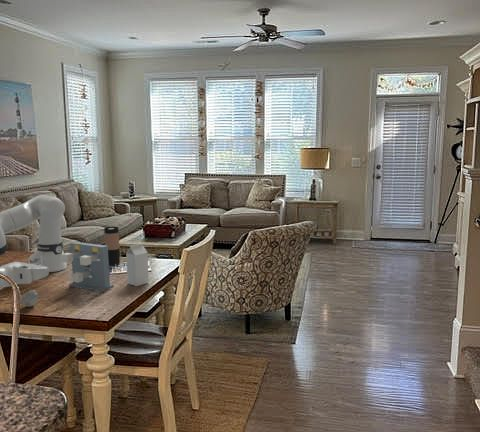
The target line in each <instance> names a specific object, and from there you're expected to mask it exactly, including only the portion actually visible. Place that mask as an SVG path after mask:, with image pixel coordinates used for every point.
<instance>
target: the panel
mask: <svg viewBox="0 0 480 432" xmlns="http://www.w3.org/2000/svg"><path fill="white" fill-rule="evenodd" d="M78 251H81V256H84V255H87V256H91V255H94V254H97V253H98V254H99V258H100V259H99V260H95V261H92V262H91V264H90V265H87V266H85V265H80V257H78V258H75V259H73V261H72V262H71V272H72V273H71V275H72V274H73V273H76V272H79V273H82V272H85V271H88V270H91V276H89V277H86V278H84V279H83V281H81V282H79V283H78V282H70V283H68V286H69V287H75V288H80V289H85V290H90V291H96V292H104V291H107V290H109V289H112V288H114V287H115V285H114V284H112V283H110V281H111V280H110V265H109V260H108V246H105V244H97V243H95V244H94V243H88V242H81V241H80V242H79V241H73V242H70V253H74V252H78Z"/></svg>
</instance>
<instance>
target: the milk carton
mask: <svg viewBox="0 0 480 432" xmlns="http://www.w3.org/2000/svg"><path fill="white" fill-rule="evenodd" d="M125 254H126V255H125V257H126V276H127V277H126V278H127V281H126V282H127V284H128V285H130V286H131V285H132V286H134V287H139V286H143V285H146V284H149V282H150V281H149V258H148V257H149V256H148V250H147V249H146V248H145V246H144V244H143V243H142V242H141V243H137V244H131V245H130V246H129V249H128V250H127V251H126V252H125Z"/></svg>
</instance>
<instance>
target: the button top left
mask: <svg viewBox="0 0 480 432" xmlns="http://www.w3.org/2000/svg"><path fill="white" fill-rule="evenodd" d="M78 257H81V251H78V252H74V253H71V252H64V254H62V262H66V263H67V264H68V263H72V261H73V259H75V258H78Z"/></svg>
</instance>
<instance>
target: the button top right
mask: <svg viewBox="0 0 480 432" xmlns="http://www.w3.org/2000/svg"><path fill="white" fill-rule="evenodd" d="M95 260H100V258H99V253H97V254H94V255H91V256H87V255H84V256H81V257H80V265H85V266H87V265H90V264H91V262H92V261H95Z"/></svg>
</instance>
